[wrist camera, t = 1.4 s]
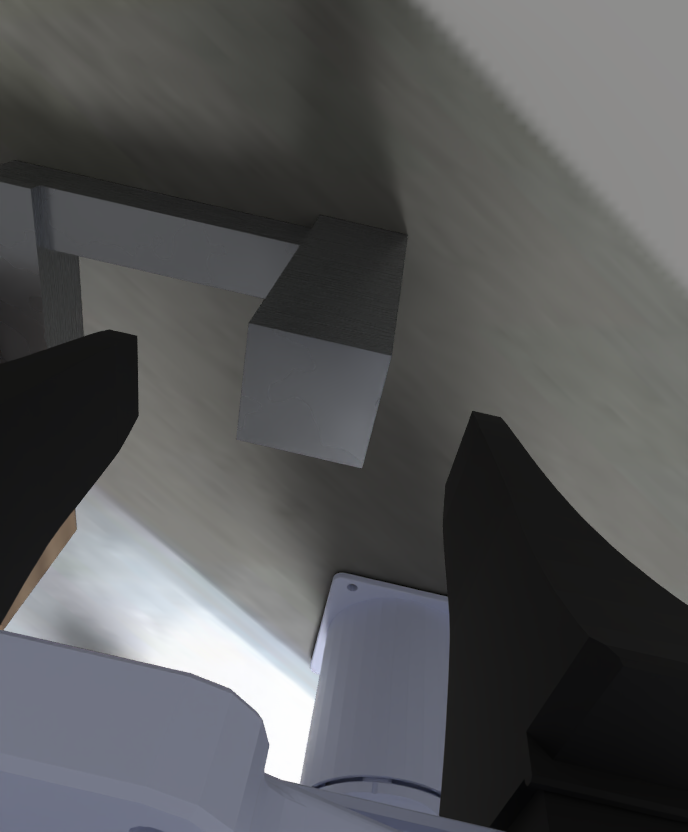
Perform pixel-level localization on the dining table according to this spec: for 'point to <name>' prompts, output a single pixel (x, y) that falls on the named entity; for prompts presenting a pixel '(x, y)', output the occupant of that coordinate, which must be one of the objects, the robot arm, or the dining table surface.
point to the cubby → (43, 564)
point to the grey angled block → (226, 269)
